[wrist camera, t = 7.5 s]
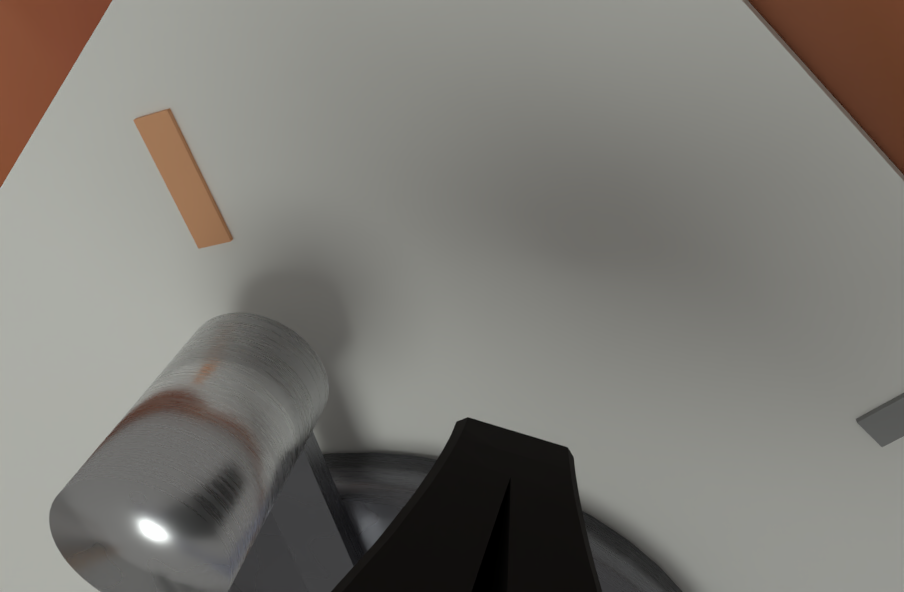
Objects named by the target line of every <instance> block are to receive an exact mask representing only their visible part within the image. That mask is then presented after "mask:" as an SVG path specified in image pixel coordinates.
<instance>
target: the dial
mask: <svg viewBox="0 0 904 592" xmlns="http://www.w3.org/2000/svg"><path fill="white" fill-rule="evenodd" d="M328 394H329V384H328V378H327V374H326V371H325V368H324V366H323V364H322V362H321V360H320V359H319V357H318V355H317V354H316V352H315V351H314V350H313V349H312V347H311V346H310V345H309V344H308V343H307V342H306V341H305V340H304V339H303V338H302V337H301V336H300V335H298V334H297V333H296V332H295V331H293V330H292V329H290V328H289V327H287V326H285V325H283V324H281V323H280V322H278V321H275V320H273V319H270V318H268V317H264V316H261V315H257V314H251V313H240V312H238V313H228V314H222V315H219V316H216V317H214V318H212V319H210V320H208V321H206V322H205V323H204V324H203V325H201V326H200V327H199V328H198V330H197V331H196V332H195V333H194V334H193V335H192V337H191V338H190V339H189V340H188V341H187V343H186V344H185V345H184V346H183V347H182V348H181V350H180V351H179V352H178V353H177V354H176V356H175V357H174V358H173V359H172V360H171V361H170V363H169V364H168V365H167V366H166V367H165V369H164V370H163V371H162V372H161V373H160V374H159V376H158V377H157V378H156V379H155V380H154V382H153V383H152V384H151V385H150V386H149V387H148V389H147V390H146V391H145V392H144V393H143V395H142V396H141V397H140V398H139V399H138V400H137V402H136V403H135V404H134V405H133V406H132V408H131V409H130V410H129V411H128V412H127V413H126V415H125V416H124V417H123V418H122V419H121V421H120V422H119V423H118V424H117V425H116V427H115V428H114V429H113V430H112V431H111V432H110V434H109V435H108V436H107V437H106V438H105V440H104V441H103V442H102V443H101V444H100V445H99V447H98V448H97V449H96V450H95V451H94V453H93V454H92V455H91V456H90V457H89V458H88V460H87V461H86V462H85V463H84V464H83V466H82V467H81V468H80V469H79V470H78V471H77V473H76V474H75V475H74V476H73V477H72V479H71V480H70V481H69V482H68V483H67V484H66V486H65V487H64V488H63V489H62V490H61V492H60V493H59V494H58V495H57V496H56V498H55V499H54V501H53V503H52V505H51V508H50V513H49V525H50V530H51V534H52V537H53V539H54V542H55V544H56V546H57V548H58V549H59V551H60V553H61V554H62V556H63V557H64V559H65V560H66V561H67V563H68V564H69V565H70V566H71V567H72V568H73V569H74V570H75V571H76V572H77V573H78V574H79V575H80V576H81V577H82V578H83V579H84V580H86V581H87V582H88V583H89V584H91V585H92V586H93V587H95V588H96V589H98V590H99V591H100V592H331V591H332V590H333V589H334V588H335V587H336V585H337V584H338V583H339V582H340V581H341V580H342V579H343V578H344V577H345V575H346V574H347V573H348V572H349V571H350V570H351V569H352V568H353V567H354V566H355V564H356V563H357V562H358V561H359V560H360V559H361V558H362V557H363V556H364V555H365V553H366V552H367V551H368V550H369V549H370V548H371V547H372V546H373V544H374V543H375V542H376V541H377V540H378V538H379V537H380V536H381V535H382V534H383V532H384V531H385V530H386V529H387V527H388V526H389V525H390V523H391V522H392V521H393V520H394V518H395V517H396V516H397V515H398V513H399V512H400V511H401V509H402V508H403V507H404V506H405V504H406V503H407V502H408V501H409V499H410V498H411V497H412V495H413V494H414V493H415V491H416V490H417V489H418V487H419V486H420V484H421V483H422V481H423V480H424V478H425V477H426V476H427V474H428V473H429V471H430V470H431V468H432V467H433V465H434V464H435V462H436V461H437V459H432V458H427V457H421V456H411V455H400V454H389V453H379V452H373V453H331V454H322V452H321V449H320V447H319V445H318V442H317V440H316V438H315V435H314V433H313V429H314V427H315V425H316V423H317V422H318V420H319V418H320V416H321V414H322V412H323V410H324V408H325V406H326V403H327V400H328ZM582 512H583V511H582ZM583 517H584V522H585V526H586V531H587V535H588V539H589V544H590V548H591V552H592V556H593V560H594V564H595V568H596V571H597V575H598V578H599V582H600V585H601V589H602V592H682V591H681V589H680V588H679V587H678V586H677V585H676V584H675V583H674V582H673V581H672V580H671V579H670V577H669V576H668V575H667V574H666V573H665V572H664V571H663V570H662V569H661V568H660V567H659V566H658V565H657V564H656V563H655V562H654V561H652V560H651V559H650V558H649V557H648V556H646V555H645V554H644V553H643V552H642V551H641V550H639V549H638V548H637V547H636V546H635V545H633V544H632V543H631V542H630V541H629V540H627V539H626V538H624V537H623V536H621V535H620V534H618V533H617V532H615V531H614V530H612V529H611V528H609V527H608V526H606V525H605V524H603V523H602V522H600V521H599V520H597V519H596V518H594V517H593V516H591V515H589V514H587V513H585V512H583Z"/></svg>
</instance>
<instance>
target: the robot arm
mask: <svg viewBox="0 0 904 592" xmlns="http://www.w3.org/2000/svg"><path fill="white" fill-rule="evenodd" d="M331 592H602V589H601V585H600V582H599V578H598V575H597V571H596V568H595V564H594V560H593V556H592V552H591V548H590V544H589V539H588V535H587V531H586V526H585V522H584V517H583V512H582V507H581V502H580V497H579V492H578V486H577V479H576V473H575V465H574V457H573V455H572V453H571V452H570V450H569V448H568V447H565V446H562V445H559V444H555V443H552V442H549V441H545V440H542V439H539V438H536V437H532V436H529V435H526V434H522V433H519V432H516V431H512V430H509V429H506V428H502V427H499V426H496V425H492V424H489V423H486V422H482V421H479V420H476V419H472V418H469V417H467V418H464V419H462V420H459V421H457V422H456V424H455V426H454V429H453V431H452V434H451V436H450V438H449V440H448V441H447V443H446V445H445V447H444V449H443V451H442V452H441V454H440V456H439V457H438V459H437V461H436V462H435V464H434V465H433V467H432V468H431V470H430V471H429V473H428V474H427V476H426V477H425V478H424V480H423V481H422V483H421V484H420V486H419V487H418V489H417V490H416V491H415V493H414V494H413V495H412V497H411V498H410V499H409V501H408V502H407V503H406V504H405V506H404V507H403V508H402V509H401V511H400V512H399V513H398V515H397V516H396V517H395V518H394V520H393V521H392V522H391V523H390V525H389V526H388V527H387V529H386V530H385V531H384V532H383V534H382V535H381V536H380V537H379V538H378V540H377V541H376V542H375V543H374V544H373V546H372V547H371V548H370V549H369V550H368V551H367V552H366V553H365V555H364V556H363V557H362V558H361V559H360V560H359V561H358V562H357V563H356V564H355V566H354V567H353V568H352V569H351V570H350V571H349V572H348V573H347V574H346V575H345V577H344V578H343V579H342V580H341V581H340V582H339V583H338V584H337V585H336V587H335V588H334V589H333V590H332V591H331Z"/></svg>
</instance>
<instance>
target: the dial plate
mask: <svg viewBox="0 0 904 592" xmlns="http://www.w3.org/2000/svg"><path fill="white" fill-rule="evenodd" d="M238 312H240V313H251V314H257V315H261V316H264V317H268V318H270V319H273V320H275V321H278V322H280V323H281V324H283V325H285V326H287V327H289V328H290V329H292V330H293V331H295V332H296V333H297V334H298V335H300V336H301V337H302V338H303V339H304V340H305V341H306V342H307V343H308V344H309V345H310V346H311V347H312V349H313V350H314V351H315V352H316V354H317V355H318V357H319V359H320V360H321V362H322V364H323V366H324V368H325V371H326V374H327V378H328V384H329V394H328V400H327V403H326V406H325V408H324V410H323V412H322V414H321V416H320V418H319V420H318V422H317V423H316V425H315V427H314V429H313V433H314V435H315V438H316V440H317V442H318V445H319V447H320V449H321V452H322V454H331V453H373V452H379V453H389V454H400V455H411V456H421V457H427V458H432V459H438V457H439V456H440V454H441V452H442V451H443V449H444V447H445V445H446V443H447V441H448V440H449V438H450V436H451V434H452V431H453V429H454V426H455V424H456V422H457V421H459V420H462V419H464V418H467V417H469V418H472V419H476V420H479V421H482V422H486V423H489V424H492V425H496V426H499V427H502V428H506V429H509V430H512V431H516V432H519V433H522V434H526V435H529V436H532V437H536V438H539V439H542V440H545V441H549V442H552V443H555V444H559V445H562V446H565V447H568V448H569V450H570V452H571V453H572V455H573V457H574V465H575V473H576V479H577V486H578V492H579V497H580V502H581V507H582V511H583V512H585V513H587V514H589V515H591V516H593V517H594V518H596V519H597V520H599V521H600V522H602V523H603V524H605V525H606V526H608V527H609V528H611V529H612V530H614V531H615V532H617V533H618V534H620V535H621V536H623V537H624V538H626V539H627V540H629V541H630V542H631V543H632V544H633V545H635V546H636V547H637V548H638V549H639V550H641V551H642V552H643V553H644V554H645V555H646V556H648V557H649V558H650V559H651V560H652V561H654V562H655V563H656V564H657V565H658V566H659V567H660V568H661V569H662V570H663V571H664V572H665V573H666V574H667V575H668V576H669V577H670V579H671V580H672V581H673V582H674V583H675V584H676V585H677V586H678V587H679V588H680V589H681V591H682V592H904V175H903V174H902V173H901V171H900V170H899V169H898V168H897V167H896V166H895V165H894V164H893V162H892V161H891V160H890V159H889V158H888V157H887V156H886V155H885V153H884V152H883V151H882V150H881V149H880V148H879V147H878V146H877V145H876V143H875V142H874V141H873V140H872V139H871V138H870V137H869V136H868V134H867V133H866V132H865V131H864V130H863V129H862V128H861V127H860V125H859V124H858V123H857V122H856V121H855V120H854V119H853V118H852V117H851V115H850V114H849V113H848V112H847V111H846V110H845V109H844V108H843V106H842V105H841V104H840V103H839V102H838V101H837V100H836V99H835V97H834V96H833V95H832V94H831V93H830V92H829V91H828V90H827V89H826V87H825V86H824V85H823V84H822V83H821V82H820V81H819V80H818V78H817V77H816V76H815V75H814V74H813V73H812V72H811V71H810V69H809V68H808V67H807V66H806V65H805V64H804V63H803V62H802V61H801V59H800V58H799V57H798V56H797V55H796V54H795V53H794V52H793V50H792V49H791V48H790V47H789V46H788V45H787V44H786V43H785V41H784V40H783V39H782V38H781V37H780V36H779V35H778V34H777V33H776V31H775V30H774V29H773V28H772V27H771V26H770V25H769V24H768V22H767V21H766V20H765V19H764V18H763V17H762V16H761V15H760V13H759V12H758V11H757V10H756V9H755V8H754V7H753V6H752V5H751V3H750V2H749V1H748V0H112V2H111V4H110V5H109V7H108V9H107V10H106V12H105V14H104V15H103V17H102V19H101V21H100V22H99V24H98V26H97V27H96V29H95V31H94V32H93V34H92V36H91V37H90V39H89V41H88V42H87V44H86V46H85V47H84V49H83V51H82V52H81V54H80V56H79V57H78V59H77V61H76V62H75V64H74V66H73V67H72V69H71V71H70V72H69V74H68V76H67V77H66V79H65V81H64V83H63V84H62V86H61V88H60V89H59V91H58V93H57V94H56V96H55V98H54V99H53V101H52V103H51V104H50V106H49V108H48V109H47V111H46V113H45V114H44V116H43V118H42V119H41V121H40V123H39V124H38V126H37V128H36V129H35V131H34V133H33V134H32V136H31V138H30V139H29V141H28V143H27V144H26V146H25V148H24V150H23V151H22V153H21V155H20V156H19V158H18V160H17V161H16V163H15V165H14V166H13V168H12V170H11V171H10V173H9V175H8V176H7V178H6V180H5V181H4V183H3V185H2V186H1V188H0V592H100V591H99V590H98V589H96V588H95V587H93V586H92V585H91V584H89V583H88V582H87V581H86V580H84V579H83V578H82V577H81V576H80V575H79V574H78V573H77V572H76V571H75V570H74V569H73V568H72V567H71V566H70V565H69V564H68V563H67V561H66V560H65V559H64V557H63V556H62V554H61V553H60V551H59V549H58V548H57V546H56V544H55V542H54V539H53V537H52V534H51V530H50V525H49V513H50V508H51V505H52V503H53V501H54V499H55V498H56V496H57V495H58V494H59V493H60V492H61V490H62V489H63V488H64V487H65V486H66V484H67V483H68V482H69V481H70V480H71V479H72V477H73V476H74V475H75V474H76V473H77V471H78V470H79V469H80V468H81V467H82V466H83V464H84V463H85V462H86V461H87V460H88V458H89V457H90V456H91V455H92V454H93V453H94V451H95V450H96V449H97V448H98V447H99V445H100V444H101V443H102V442H103V441H104V440H105V438H106V437H107V436H108V435H109V434H110V432H111V431H112V430H113V429H114V428H115V427H116V425H117V424H118V423H119V422H120V421H121V419H122V418H123V417H124V416H125V415H126V413H127V412H128V411H129V410H130V409H131V408H132V406H133V405H134V404H135V403H136V402H137V400H138V399H139V398H140V397H141V396H142V395H143V393H144V392H145V391H146V390H147V389H148V387H149V386H150V385H151V384H152V383H153V382H154V380H155V379H156V378H157V377H158V376H159V374H160V373H161V372H162V371H163V370H164V369H165V367H166V366H167V365H168V364H169V363H170V361H171V360H172V359H173V358H174V357H175V356H176V354H177V353H178V352H179V351H180V350H181V348H182V347H183V346H184V345H185V344H186V343H187V341H188V340H189V339H190V338H191V337H192V335H193V334H194V333H195V332H196V331H197V330H198V328H199V327H200V326H201V325H203V324H204V323H205V322H206V321H208V320H210V319H212V318H214V317H216V316H219V315H222V314H228V313H238Z"/></svg>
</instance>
